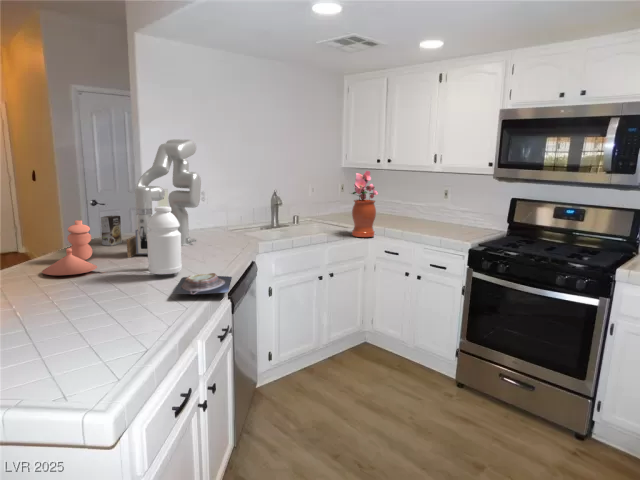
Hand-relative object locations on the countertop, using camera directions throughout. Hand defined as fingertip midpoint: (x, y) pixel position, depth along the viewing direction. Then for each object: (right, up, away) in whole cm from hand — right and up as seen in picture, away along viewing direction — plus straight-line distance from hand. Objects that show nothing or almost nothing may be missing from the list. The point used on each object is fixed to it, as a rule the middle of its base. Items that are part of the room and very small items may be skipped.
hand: (146, 247), depth 216 cm
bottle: (+20, -10, -29) cm, 37 cm away
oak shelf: (0, -4, +2) cm, 4 cm away
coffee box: (-31, +1, +28) cm, 42 cm away
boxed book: (0, -3, +1) cm, 3 cm away
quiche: (+43, -15, -49) cm, 67 cm away
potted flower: (+117, +6, +80) cm, 142 cm away
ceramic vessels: (-23, -8, -24) cm, 34 cm away
